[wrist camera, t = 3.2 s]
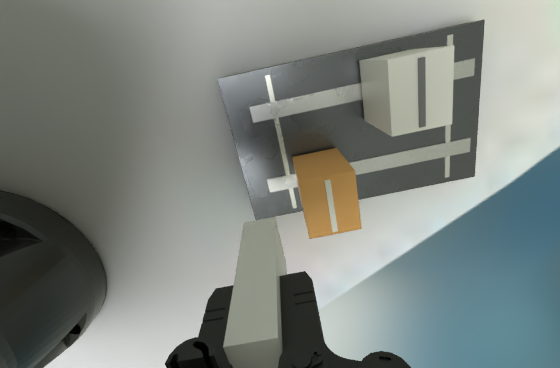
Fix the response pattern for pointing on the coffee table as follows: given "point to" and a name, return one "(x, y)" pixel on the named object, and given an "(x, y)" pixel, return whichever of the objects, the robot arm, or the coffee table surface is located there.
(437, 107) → the fader white
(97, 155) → the coffee table surface
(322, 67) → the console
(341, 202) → the fader orange
